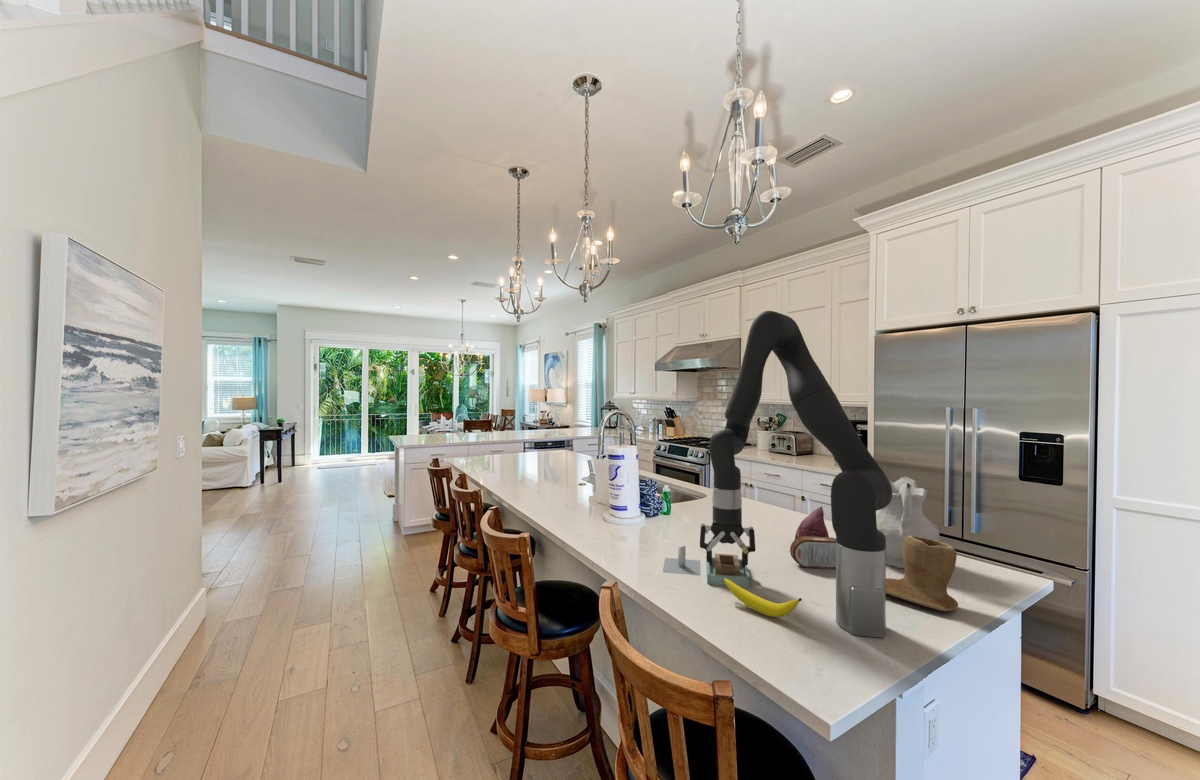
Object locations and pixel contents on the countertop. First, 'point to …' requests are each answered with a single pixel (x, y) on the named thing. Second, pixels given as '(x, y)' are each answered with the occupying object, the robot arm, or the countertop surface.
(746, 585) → the tray
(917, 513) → the ceramic pitcher
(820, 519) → the vegetable
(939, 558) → the brown felt boot
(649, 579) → the countertop surface
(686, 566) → the grey plate with post
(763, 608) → the banana
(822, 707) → the countertop surface
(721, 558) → the stepped wooden block
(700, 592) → the countertop surface
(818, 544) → the tin
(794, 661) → the countertop surface
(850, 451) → the robot arm
